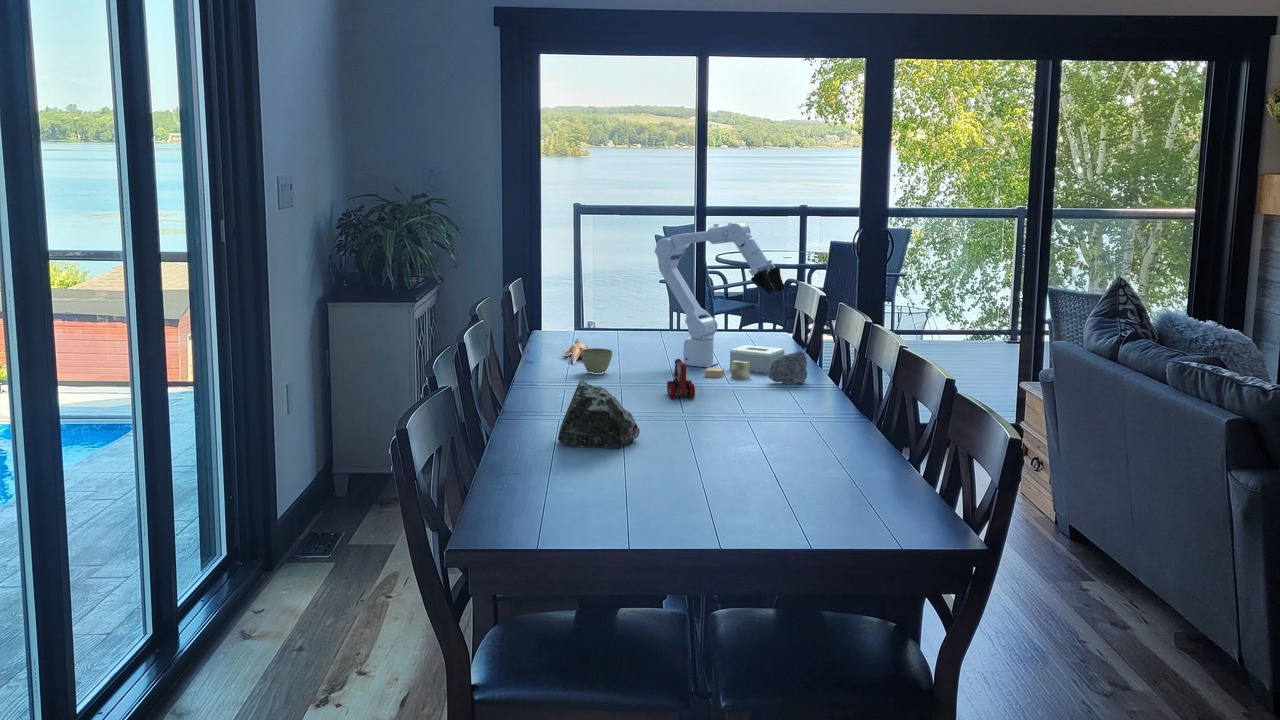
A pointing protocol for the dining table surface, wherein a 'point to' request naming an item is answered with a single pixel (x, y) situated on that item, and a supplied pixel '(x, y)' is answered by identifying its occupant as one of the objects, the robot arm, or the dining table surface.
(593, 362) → the flower pot
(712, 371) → the block
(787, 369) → the rock
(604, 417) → the stone
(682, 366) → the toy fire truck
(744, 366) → the block
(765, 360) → the box
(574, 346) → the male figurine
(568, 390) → the dining table surface
